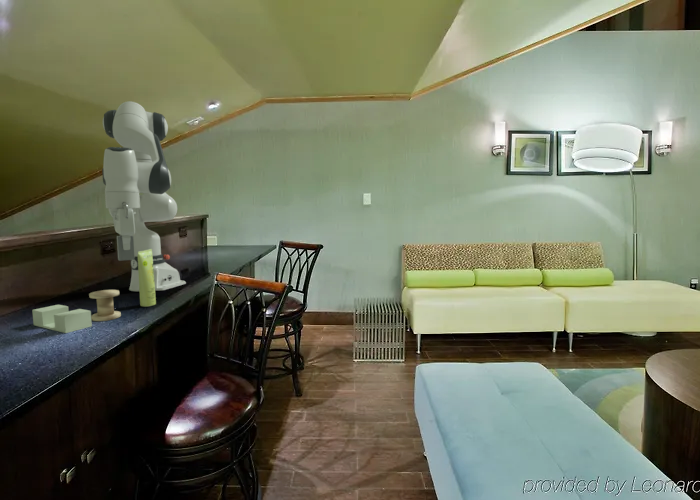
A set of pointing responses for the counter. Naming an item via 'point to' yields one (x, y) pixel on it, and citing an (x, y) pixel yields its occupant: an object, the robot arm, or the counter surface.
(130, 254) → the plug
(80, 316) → the notch board
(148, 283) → the tube
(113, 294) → the bobbin
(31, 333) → the counter surface
